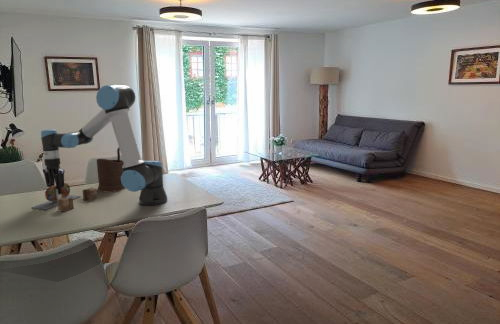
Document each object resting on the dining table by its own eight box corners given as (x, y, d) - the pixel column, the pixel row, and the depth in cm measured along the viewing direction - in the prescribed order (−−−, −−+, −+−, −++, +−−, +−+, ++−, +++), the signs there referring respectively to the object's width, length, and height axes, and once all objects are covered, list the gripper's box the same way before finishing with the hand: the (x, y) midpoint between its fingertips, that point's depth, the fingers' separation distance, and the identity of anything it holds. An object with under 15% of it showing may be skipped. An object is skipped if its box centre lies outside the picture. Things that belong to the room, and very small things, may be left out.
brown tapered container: (90, 190, 225) (86, 151, 220) (115, 181, 248) (111, 145, 243) (115, 192, 220) (112, 152, 215) (138, 183, 242) (135, 146, 237)
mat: (80, 197, 212) (80, 196, 212) (46, 210, 189) (46, 208, 189) (67, 195, 215) (67, 194, 215) (31, 208, 193) (31, 207, 192)
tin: (49, 203, 195) (47, 188, 193) (44, 202, 196) (43, 187, 194) (70, 195, 209) (70, 181, 207) (66, 195, 210) (65, 181, 208)
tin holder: (97, 198, 208) (96, 188, 207) (66, 211, 187) (64, 200, 186) (90, 197, 210) (88, 187, 209) (57, 210, 189) (56, 199, 188)
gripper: (35, 158, 196) (40, 200, 201) (57, 159, 191) (62, 202, 196) (46, 156, 203) (51, 196, 208) (68, 157, 198) (73, 198, 203)
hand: (57, 199), depth 202 cm, fingers closed on tin, 3 cm apart
